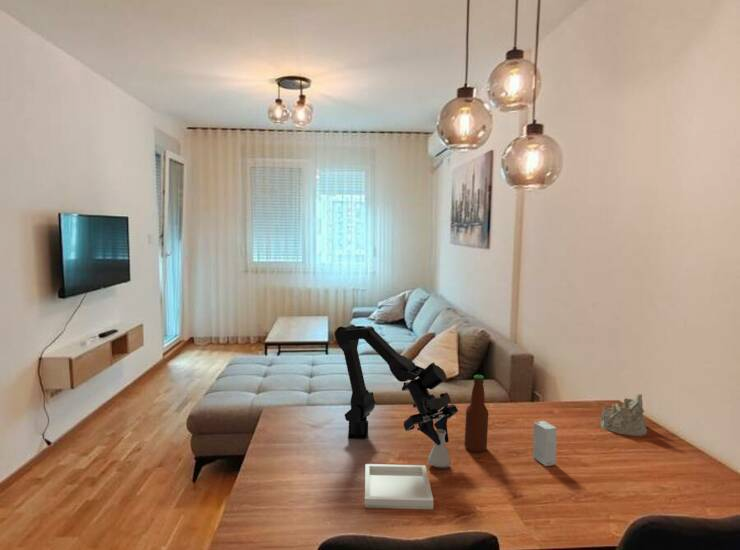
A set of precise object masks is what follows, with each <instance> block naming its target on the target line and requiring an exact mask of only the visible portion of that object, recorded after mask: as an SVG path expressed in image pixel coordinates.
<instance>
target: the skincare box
mask: <svg viewBox="0 0 740 550" xmlns="http://www.w3.org/2000/svg"><path fill="white" fill-rule="evenodd" d="M557 429H558V428H557V427H556V426H554V425H552V424H550V423H549V422H547V421H545V420H541V421H535V422H533V445H532V446H533V447H532V449H533V450H532V457H533V459H534V460H536V461H537V462H539V463H540V464H542V465H543V466H545V467H549V466H555V465H556V459H557V457H556V456H557V455H556V454H557Z"/></svg>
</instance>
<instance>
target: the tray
mask: <svg viewBox="0 0 740 550" xmlns="http://www.w3.org/2000/svg"><path fill="white" fill-rule="evenodd" d="M364 466H365V469H364V470H365V474H364V509H365V508H366V509H396V510H397V509H400V510H401V509H402V510H403V509H404V510H405V509H406V510H408V509H409V510H434V496H433V493H432V492H433V491H432V488H431V483H430V480H429V475H428V471H427V466H426V465H424V464H423V465H422V464H389V463H388V464H387V463H386V464H385V463H384V464H383V463H379V464H378V463H365V464H364Z"/></svg>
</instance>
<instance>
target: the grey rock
mask: <svg viewBox="0 0 740 550" xmlns="http://www.w3.org/2000/svg"><path fill="white" fill-rule="evenodd" d="M642 397H643V394H642V393H638V394H636V396H635V398H633V399H632V398H627V397H626V398H625V397H624V399H623V403H622V405H621V406H620V405H619V404H618V403H617V402H616V403H614V404H612V405H611V407H606V406H603V407H602V410H601V411H602V412H601V414H600V418H601V420H600V423H599V424H600V427H601V428H602V429H603V430H606V431H610V432H613V433H616V434H620V435H625V436H634V437H635V436H637V437H642V436H645V435H647V433H648V429H647V428H646V427H647V425H646V420H644V412H645V411H644V409H643V405H644V403H643V398H642Z"/></svg>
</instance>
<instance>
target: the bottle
mask: <svg viewBox="0 0 740 550" xmlns="http://www.w3.org/2000/svg"><path fill="white" fill-rule="evenodd" d="M484 379H485V377H484V376H483V375H482V374H475V375H474V376H473V387H472V390H471V397H470V404H469V405H468V406H467V408H466V410H465V425H464V427H465V428H464V447H465V448H466V450H468V451H470V452H473V453H482V452H485V451H486V449H487V447H488V446H487V445H488V444H487V443H488V429H489V410H488V409H487V406H486V404H485V397H486V396H485V387H484Z"/></svg>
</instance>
